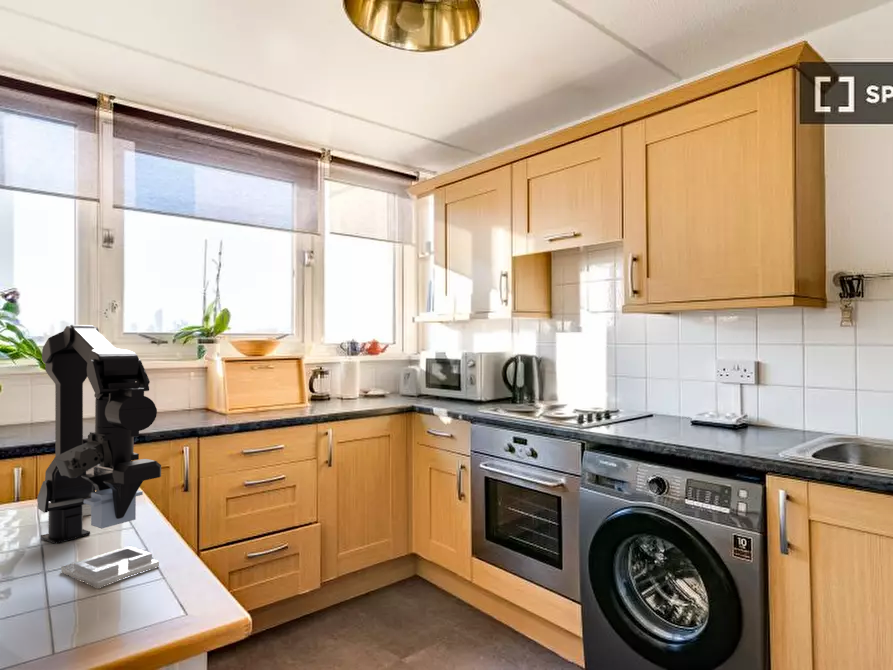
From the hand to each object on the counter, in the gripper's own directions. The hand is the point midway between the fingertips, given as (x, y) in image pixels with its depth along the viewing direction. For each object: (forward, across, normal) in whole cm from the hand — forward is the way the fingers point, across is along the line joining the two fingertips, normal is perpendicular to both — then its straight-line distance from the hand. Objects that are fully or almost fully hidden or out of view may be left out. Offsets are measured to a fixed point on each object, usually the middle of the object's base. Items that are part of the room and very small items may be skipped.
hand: (113, 516), depth 94 cm
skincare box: (+10, -40, +13) cm, 43 cm away
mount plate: (+9, -1, 0) cm, 9 cm away
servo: (+1, 0, 0) cm, 1 cm away
